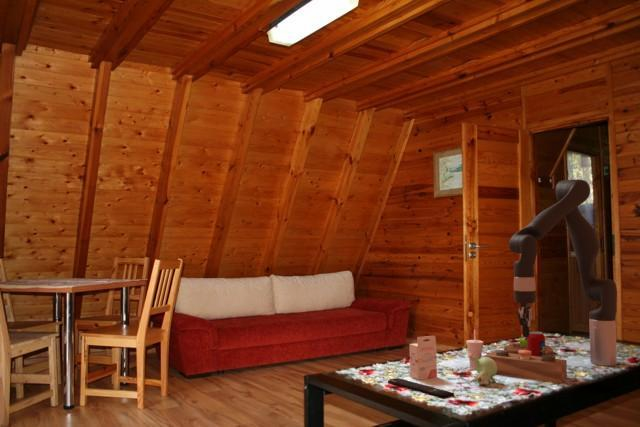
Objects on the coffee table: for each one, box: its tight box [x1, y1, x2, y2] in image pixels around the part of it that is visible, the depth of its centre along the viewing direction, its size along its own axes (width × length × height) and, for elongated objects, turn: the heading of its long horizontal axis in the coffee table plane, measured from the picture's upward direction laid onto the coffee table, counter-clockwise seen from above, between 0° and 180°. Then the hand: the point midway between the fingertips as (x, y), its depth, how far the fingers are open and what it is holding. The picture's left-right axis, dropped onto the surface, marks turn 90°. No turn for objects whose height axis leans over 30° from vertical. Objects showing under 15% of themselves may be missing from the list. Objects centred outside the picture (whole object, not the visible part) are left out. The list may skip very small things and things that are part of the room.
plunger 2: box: [542, 355, 556, 362], centre depth 189 cm, size 4×4×7 cm
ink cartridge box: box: [409, 335, 438, 381], centre depth 190 cm, size 9×5×15 cm, turn 117°
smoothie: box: [465, 329, 484, 368], centre depth 206 cm, size 6×6×14 cm
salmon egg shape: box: [518, 350, 531, 359], centre depth 193 cm, size 4×4×7 cm
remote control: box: [387, 377, 455, 399], centre depth 174 cm, size 5×24×1 cm, turn 39°
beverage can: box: [527, 330, 546, 357], centre depth 212 cm, size 7×7×12 cm
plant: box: [503, 327, 555, 356], centre depth 233 cm, size 20×20×11 cm
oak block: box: [484, 350, 568, 384], centre depth 193 cm, size 10×26×6 cm, turn 56°
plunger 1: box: [495, 349, 509, 357], centre depth 198 cm, size 4×4×7 cm
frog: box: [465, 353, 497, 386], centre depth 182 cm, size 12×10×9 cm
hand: (526, 336), depth 195 cm, fingers closed
